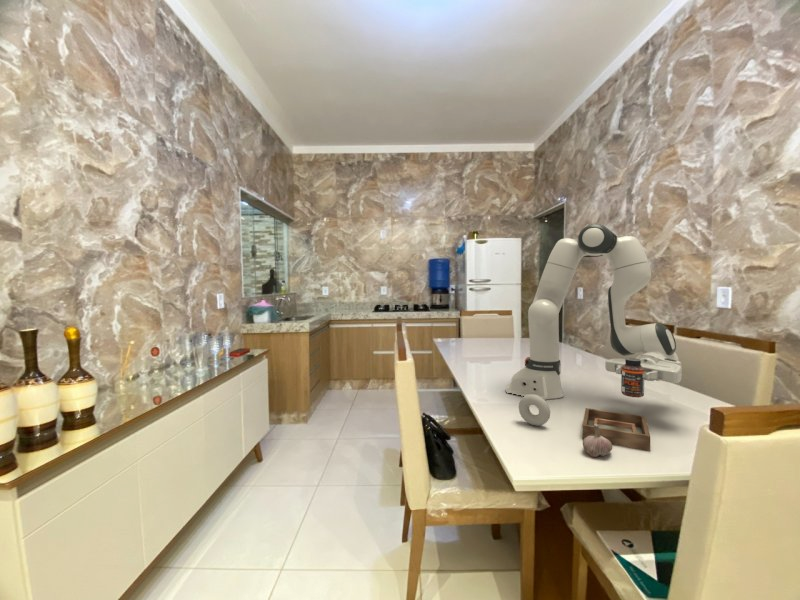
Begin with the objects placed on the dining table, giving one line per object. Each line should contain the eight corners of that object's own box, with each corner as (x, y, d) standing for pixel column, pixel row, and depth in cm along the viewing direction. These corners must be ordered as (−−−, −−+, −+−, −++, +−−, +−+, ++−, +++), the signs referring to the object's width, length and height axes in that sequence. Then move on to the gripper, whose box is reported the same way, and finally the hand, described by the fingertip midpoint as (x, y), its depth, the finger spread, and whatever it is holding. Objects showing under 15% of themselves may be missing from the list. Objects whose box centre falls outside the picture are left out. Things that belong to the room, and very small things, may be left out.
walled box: (582, 438, 101) (582, 425, 101) (585, 419, 114) (585, 407, 114) (650, 451, 92) (650, 436, 92) (644, 429, 106) (644, 416, 106)
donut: (516, 423, 113) (516, 392, 113) (521, 419, 116) (520, 390, 116) (548, 431, 107) (547, 399, 106) (552, 427, 109) (551, 396, 109)
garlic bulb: (590, 460, 89) (590, 429, 88) (575, 447, 96) (575, 418, 96) (620, 459, 89) (619, 429, 88) (603, 446, 96) (603, 418, 96)
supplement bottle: (622, 396, 107) (622, 360, 106) (620, 391, 112) (620, 356, 112) (645, 399, 104) (645, 361, 104) (642, 393, 109) (642, 357, 109)
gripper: (615, 352, 124) (596, 358, 116) (687, 362, 107) (671, 369, 99) (615, 370, 124) (596, 376, 116) (687, 382, 107) (670, 391, 99)
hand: (631, 373), depth 107 cm, fingers closed on supplement bottle, 6 cm apart
